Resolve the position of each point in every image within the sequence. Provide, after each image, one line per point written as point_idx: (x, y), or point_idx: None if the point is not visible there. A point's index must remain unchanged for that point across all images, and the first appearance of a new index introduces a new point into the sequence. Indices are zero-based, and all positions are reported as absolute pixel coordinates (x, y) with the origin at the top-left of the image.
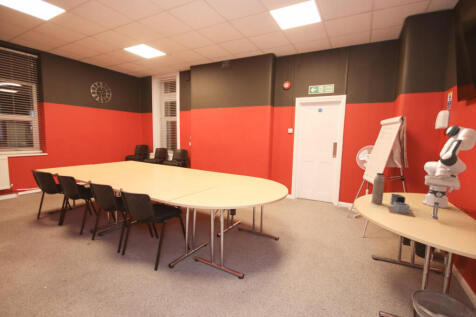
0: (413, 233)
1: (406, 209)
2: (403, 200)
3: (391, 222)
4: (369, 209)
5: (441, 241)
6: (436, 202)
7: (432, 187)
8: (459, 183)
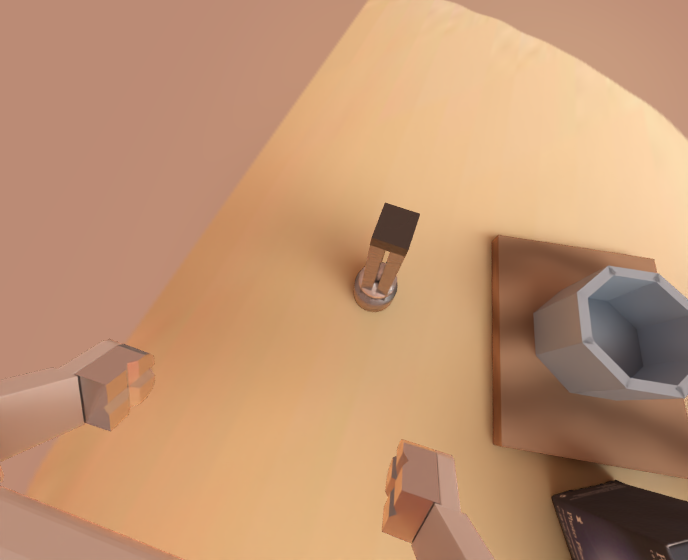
0: (525, 53)
1: (574, 285)
2: (643, 523)
3: (613, 134)
4: None
5: (441, 25)
6: (394, 235)
7: (448, 492)
8: None
